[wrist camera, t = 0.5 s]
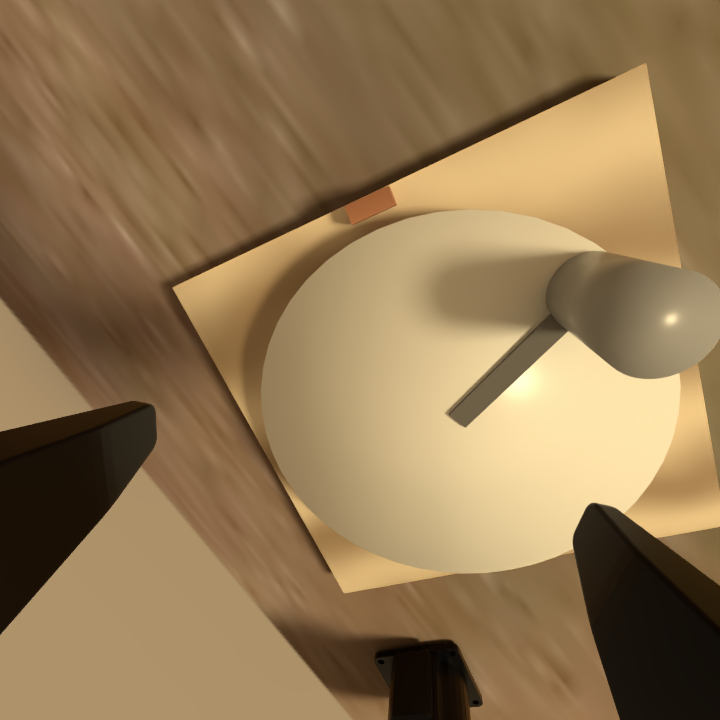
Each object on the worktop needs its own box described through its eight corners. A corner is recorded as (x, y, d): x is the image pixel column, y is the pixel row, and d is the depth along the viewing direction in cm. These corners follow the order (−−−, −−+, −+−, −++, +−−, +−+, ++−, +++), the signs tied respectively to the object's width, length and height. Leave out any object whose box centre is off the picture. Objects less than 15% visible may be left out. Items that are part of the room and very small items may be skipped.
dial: (463, 599, 24) (478, 727, 18) (211, 422, 22) (134, 500, 16) (760, 390, 17) (940, 485, 11) (430, 103, 15) (436, 34, 9)
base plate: (705, 505, 21) (740, 540, 19) (347, 573, 27) (341, 607, 25) (625, 76, 15) (661, 52, 13) (188, 282, 21) (160, 291, 19)
